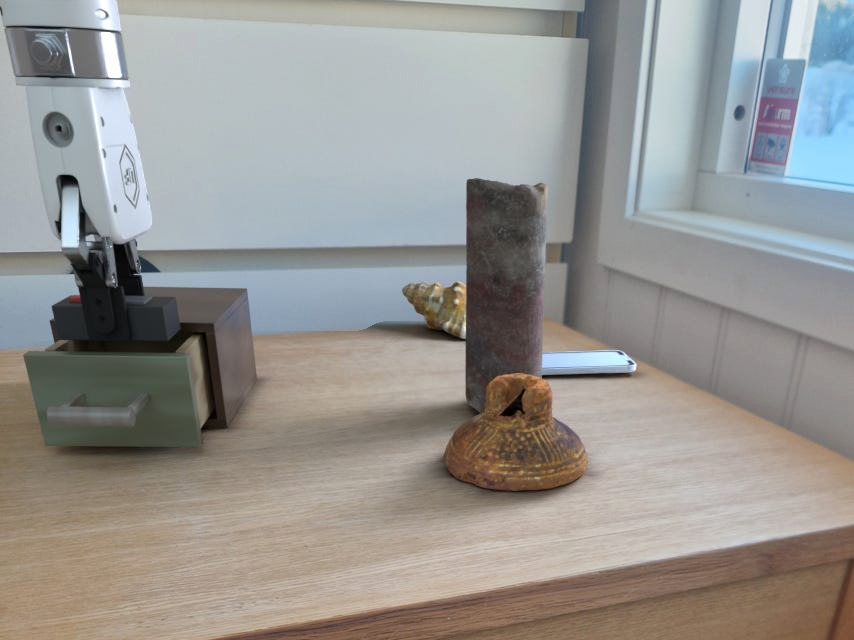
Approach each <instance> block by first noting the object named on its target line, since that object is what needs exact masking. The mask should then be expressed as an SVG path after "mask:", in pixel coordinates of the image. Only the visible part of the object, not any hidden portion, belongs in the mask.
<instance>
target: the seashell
mask: <svg viewBox="0 0 854 640" xmlns="http://www.w3.org/2000/svg"><path fill="white" fill-rule="evenodd" d="M401 293H402V295H403V296H404V297H405V298H406V299H407V302H408V303H409V304H410V305H412V306H413V308H414V311H415V313H417V314H419V315H421V316H423V318H424V321H425V323H426V324H425V325H426V327H427V328H429V329H433V330H436V331H437V330H438V331H445V332H446V333H448V334H450V335H452V336H454V337H457V338H459V339H463V340H466V283H465V284H464V282H462V281H455V282H454V283H453V284H452V285H451V286H448V287H445V286H443V285H441V284H440V282H439V281H437V282H436V281H435V282H434V283H433V284H427V283H426V282H424V281H422V282H420V283H415V282H410V283H408V284H406V285H405V286H404V287H402V290H401Z"/></svg>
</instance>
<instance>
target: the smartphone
mask: <svg viewBox="0 0 854 640" xmlns="http://www.w3.org/2000/svg"><path fill="white" fill-rule="evenodd" d="M636 370H637V363H636V362H635V361H634V360H633V359H632V358H631V357H630V356H628V355H627V354H626V353H625V352H624V351H622V350H617V349H607V350H606V349H605V350H579V351H578V350H575V351H574V350H573V351H572V350H571V351H546V352H545V351H542V376H553V375H554V376H555V375H581V374H582V375H585V374H606V375H613V374H629V373H632V372H636Z"/></svg>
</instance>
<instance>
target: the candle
mask: <svg viewBox="0 0 854 640" xmlns="http://www.w3.org/2000/svg"><path fill="white" fill-rule="evenodd" d="M465 185H466V187H465V188H466V193H465V195H466V196H465V199H466V200H465V201H466V202H465V210H466V211H465V212H466V216H465V217H466V220H465V221H466V228H465V230H466V231H465V232H466V233H465V234H466V238H465V240H466V241H465V242H466V243H465V245H466V246H465V247H466V256H465V257H466V259H465V260H466V261H465V262H466V271H465V278H466V280H465V286H466V339H465V371H464V373H465V374H464V375H465V379H464V380H465V399H466V403H467V405H468V406H470V407H471V408H473V409H474V410H476V411H477V412H478V413H479V414H481V413H483V412H484V410H485V405H486V389H487V385H488V384H489V383H490V382H491V381H492V380H493V379H494V378H496V377H497V376H502V375H510V374H516V373H523V374H527V375H533V376H536V377H539V378H541V379H543V377H542V376H543V375H542V352H543V342H544V336H543V335H544V310H545V282H546V261H547V259H546V257H547V256H546V253H547V252H546V250H547V249H546V247H547V235H548V198H549V187H548V184H547V183H545V182H544V183H543V182H538V183H537V184H535V185H530V184H529V183H528V184H523V183H520V184H516V185H514V184H509V183H507V182H501V181H498V180H489V179H483V178H479V177H475V178H468V179H466V183H465Z"/></svg>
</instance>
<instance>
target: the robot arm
mask: <svg viewBox="0 0 854 640" xmlns="http://www.w3.org/2000/svg"><path fill="white" fill-rule="evenodd" d="M0 16H1V20H2V21H1V22H2V26H3V27H4V34H5V39H6V44H7V49H8V54H9V58H10V63H11V67H12V71H13V75H14V80H15V81H14V82H15V85H16V86H17V87H20V86H21V87H24V86H25V91H26V102H27V108H28V117H29V123H30V125H29V126H30V131H31V138H32V143H33V151H34V156H35V163H36V166H37V167H36V168H37V173H38V179H39V185H40V189H41V195H42V198H43V203H44V207H45V212H46V216H47V219H48V223H49V227H50V229H51V232H52V234H53V236H54V237H55V238H56V239H57V240H58V241H60V248H61V252H62V254H63V256H64V257H65V258H66V259H67V260H68V261H69V263H70V266H71V267H72V269H73V276H74V281H75V285H76V287H77V288H78V293H79V294H78V295H80V299H81V303H82V308H83V313H84V318H85V323H86V328H87V333H88V337H89V338H90V339H91V340H92V341H128V340H130V339H131V337H132V333H131V328H130V322H129V317H128V311H127V306H126V300H125V296H145V293H144V288H143V287H144V283H143V276H142V274H141V272H142V267H141V262H140V257H139V252H138V241H137V240H136V239H137V238H139V237H141V236H143V235H144V234H147V232H149V230H151V228H152V226H153V214H152V208H151V204H150V197H149V191H148V187H147V182H146V178H145V173H144V167H143V162H142V157H141V153H140V148H139V143H138V137H137V134H136V130H135V125H134V122H133V117H132V114H131V110H130V107H129V103H128V99H127V96H126V93H125V90H124V89H131V82H130V75H129V69H128V62H127V55H126V51H125V43H124V37H123V34H122V25H121V19H120V12H119V6H118V0H0ZM91 235H93V237H94V241H93V240H87V239H86V237H89V236H91ZM97 252H98V253H97Z"/></svg>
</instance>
